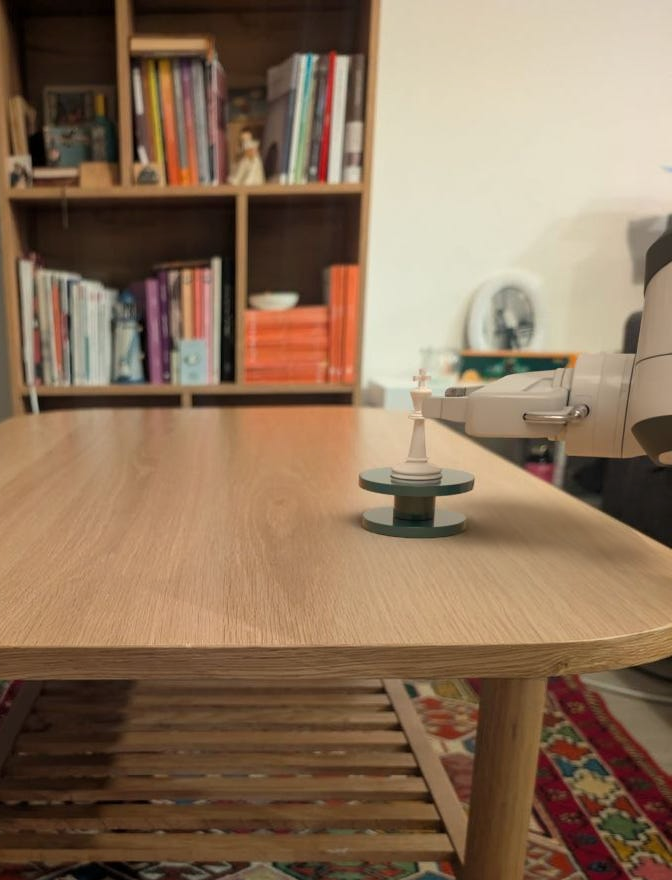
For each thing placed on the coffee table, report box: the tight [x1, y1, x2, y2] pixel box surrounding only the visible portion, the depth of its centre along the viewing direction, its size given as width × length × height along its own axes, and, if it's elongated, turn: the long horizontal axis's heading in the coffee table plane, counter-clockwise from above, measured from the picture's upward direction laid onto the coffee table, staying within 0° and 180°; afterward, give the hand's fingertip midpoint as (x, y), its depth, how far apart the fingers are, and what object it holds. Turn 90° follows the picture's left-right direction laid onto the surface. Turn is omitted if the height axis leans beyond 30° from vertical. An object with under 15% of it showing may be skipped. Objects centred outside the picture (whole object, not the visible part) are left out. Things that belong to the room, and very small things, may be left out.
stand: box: [357, 466, 476, 539], centre depth 93 cm, size 11×11×5 cm
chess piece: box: [390, 368, 443, 480], centre depth 90 cm, size 5×5×10 cm
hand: (435, 401), depth 89 cm, fingers open, 8 cm apart
